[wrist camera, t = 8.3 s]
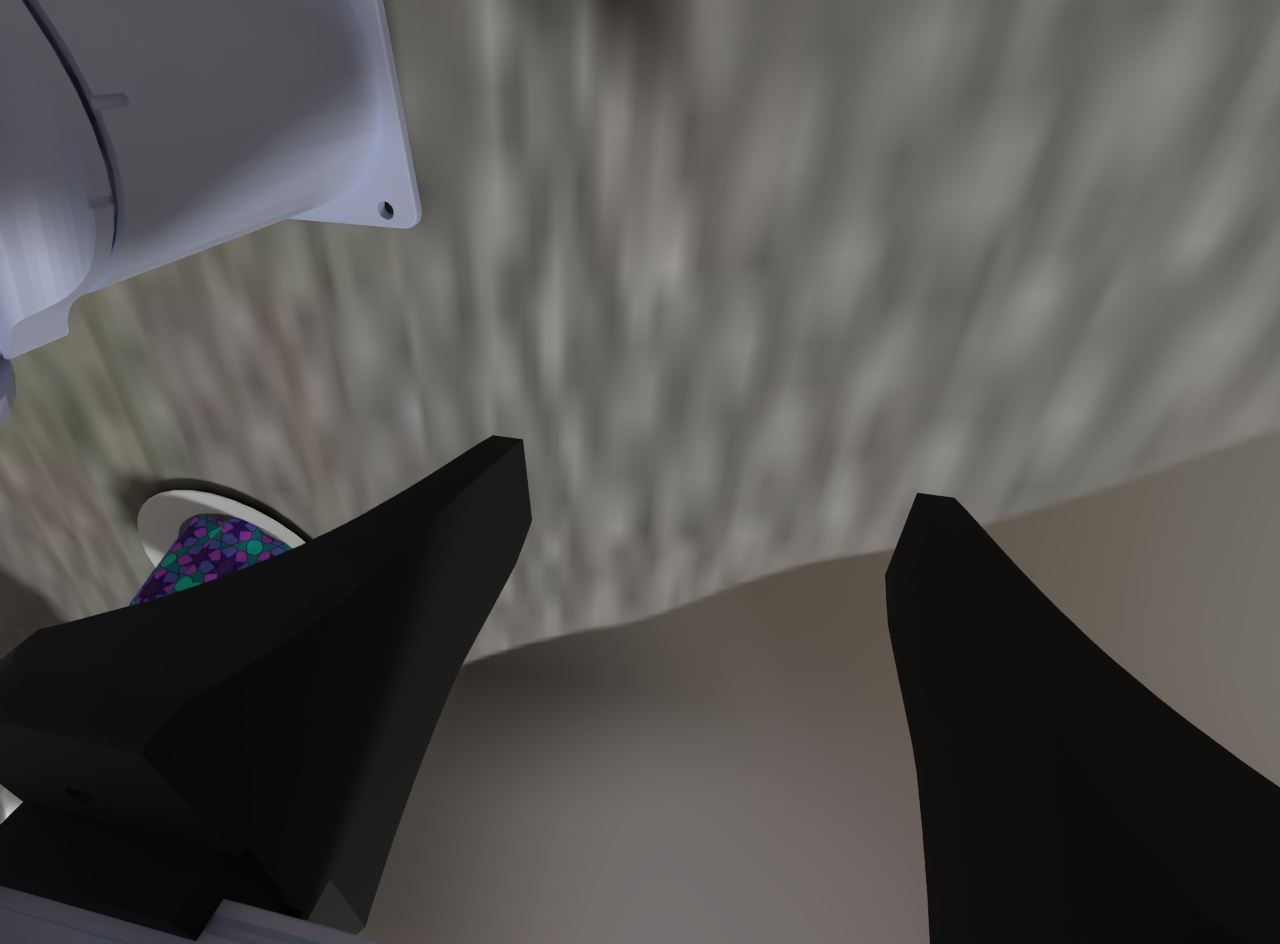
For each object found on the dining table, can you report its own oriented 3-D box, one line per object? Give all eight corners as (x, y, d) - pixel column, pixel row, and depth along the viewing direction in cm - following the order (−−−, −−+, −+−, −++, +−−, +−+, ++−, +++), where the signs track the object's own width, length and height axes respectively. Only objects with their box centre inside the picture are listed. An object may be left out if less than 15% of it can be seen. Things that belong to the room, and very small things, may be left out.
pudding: (361, 532, 29) (290, 616, 25) (362, 664, 36) (307, 746, 32) (124, 447, 29) (12, 517, 24) (174, 597, 36) (94, 671, 32)
